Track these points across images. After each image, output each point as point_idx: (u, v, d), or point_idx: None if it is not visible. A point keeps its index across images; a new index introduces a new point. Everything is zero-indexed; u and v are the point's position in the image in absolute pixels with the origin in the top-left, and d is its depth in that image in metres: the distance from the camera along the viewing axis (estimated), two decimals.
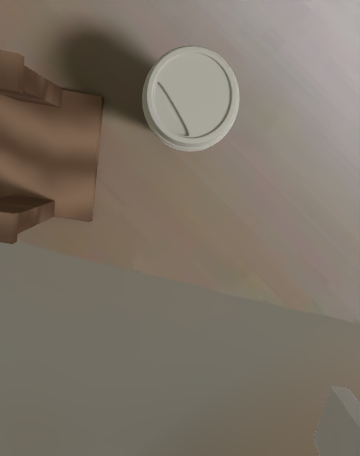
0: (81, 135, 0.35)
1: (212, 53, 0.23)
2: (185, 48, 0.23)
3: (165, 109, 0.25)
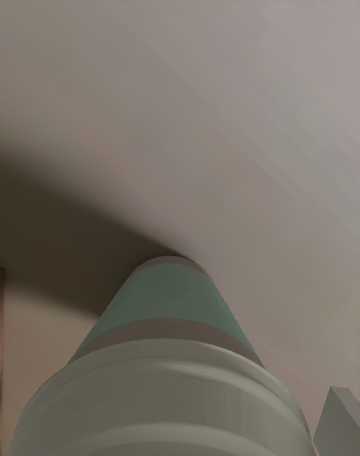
0: None
1: (237, 442, 0.06)
2: (129, 430, 0.06)
3: None
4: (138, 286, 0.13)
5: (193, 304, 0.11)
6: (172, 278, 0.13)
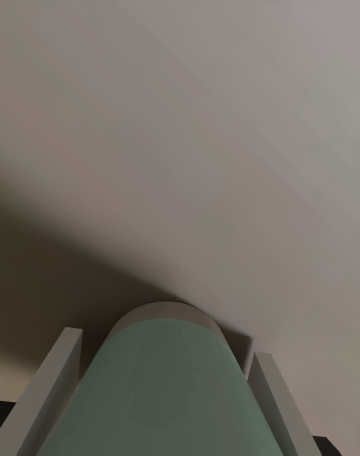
0: None
1: None
2: None
3: None
4: (117, 371, 0.08)
5: (203, 428, 0.06)
6: (169, 354, 0.09)
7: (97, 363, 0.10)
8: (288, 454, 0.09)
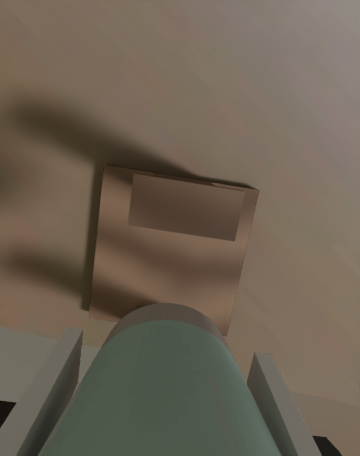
0: None
1: None
2: None
3: None
4: (116, 374, 0.08)
5: (202, 431, 0.06)
6: (168, 357, 0.09)
7: (97, 365, 0.10)
8: (288, 454, 0.09)
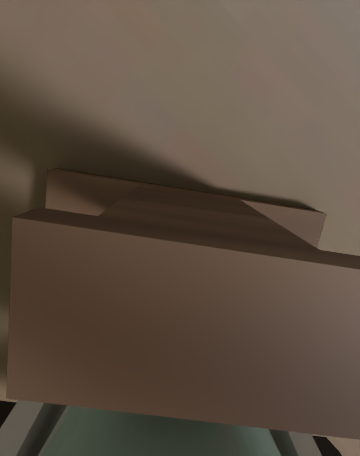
0: None
1: None
2: None
3: None
4: None
5: (202, 431, 0.06)
6: None
7: None
8: (288, 454, 0.09)
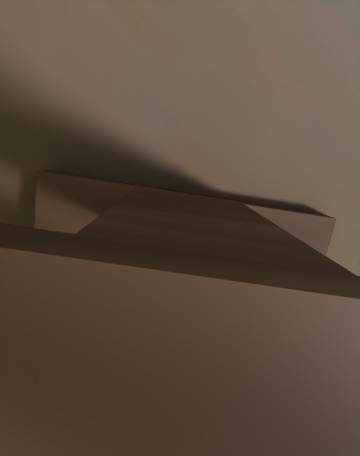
0: None
1: None
2: None
3: None
4: None
5: None
6: None
7: None
8: None
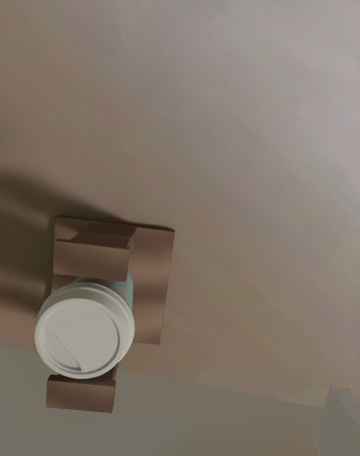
0: (153, 267, 0.36)
1: (96, 303, 0.24)
2: (68, 300, 0.24)
3: (56, 347, 0.25)
4: None
5: None
6: None
7: None
8: None
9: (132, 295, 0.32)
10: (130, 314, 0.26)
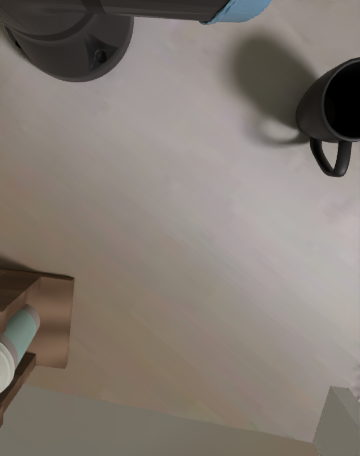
0: (56, 307, 0.44)
1: None
2: None
3: None
4: None
5: None
6: None
7: None
8: None
9: (31, 333, 0.41)
10: (10, 356, 0.34)
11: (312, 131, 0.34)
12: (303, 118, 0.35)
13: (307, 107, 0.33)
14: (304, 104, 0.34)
